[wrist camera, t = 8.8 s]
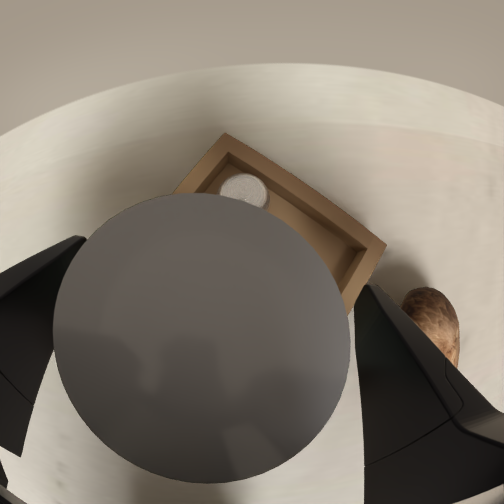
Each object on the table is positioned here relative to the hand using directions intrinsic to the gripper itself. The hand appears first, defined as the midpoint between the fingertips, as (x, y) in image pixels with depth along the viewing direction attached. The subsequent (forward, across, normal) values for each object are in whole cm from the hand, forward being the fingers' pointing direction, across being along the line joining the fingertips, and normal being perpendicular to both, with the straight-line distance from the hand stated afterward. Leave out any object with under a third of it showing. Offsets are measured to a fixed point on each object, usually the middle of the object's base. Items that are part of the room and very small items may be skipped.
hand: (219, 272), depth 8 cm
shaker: (+5, 0, +7) cm, 8 cm away
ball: (+9, 0, +2) cm, 9 cm away
